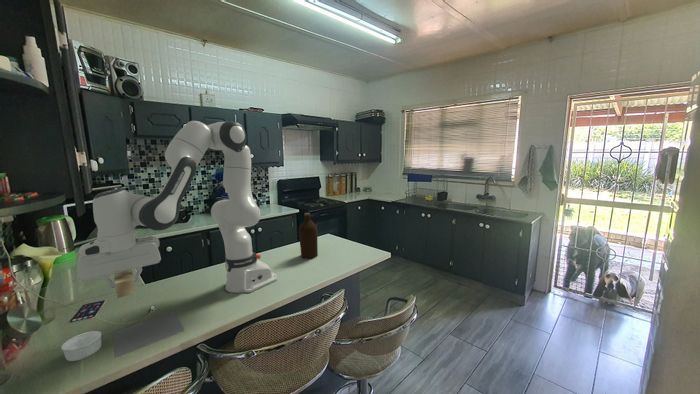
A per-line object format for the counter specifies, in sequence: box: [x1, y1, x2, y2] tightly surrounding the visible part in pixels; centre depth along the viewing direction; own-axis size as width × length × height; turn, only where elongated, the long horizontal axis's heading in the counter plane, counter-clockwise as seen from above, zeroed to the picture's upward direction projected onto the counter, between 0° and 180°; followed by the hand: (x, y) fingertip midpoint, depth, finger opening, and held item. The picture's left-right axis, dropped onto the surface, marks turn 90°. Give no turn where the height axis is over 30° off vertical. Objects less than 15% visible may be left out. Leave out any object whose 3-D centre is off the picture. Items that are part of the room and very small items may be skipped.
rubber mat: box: [113, 311, 185, 358], centre depth 94 cm, size 18×16×1 cm
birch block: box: [113, 269, 137, 299], centre depth 88 cm, size 4×4×12 cm
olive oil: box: [298, 212, 319, 260], centre depth 158 cm, size 11×11×25 cm
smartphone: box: [68, 299, 107, 324], centre depth 109 cm, size 8×1×15 cm
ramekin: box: [61, 330, 102, 362], centre depth 85 cm, size 9×9×4 cm
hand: (125, 283), depth 89 cm, fingers closed on birch block, 4 cm apart
